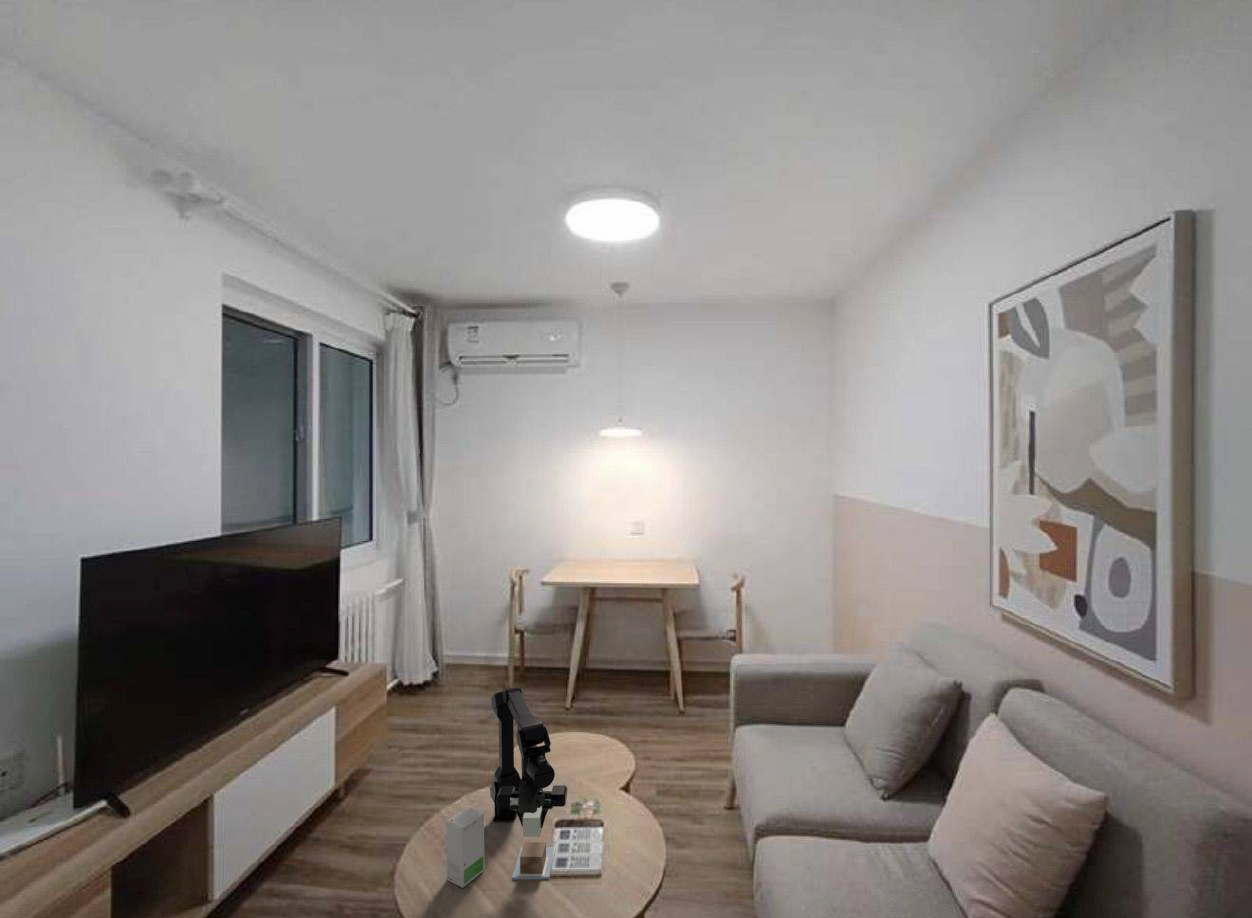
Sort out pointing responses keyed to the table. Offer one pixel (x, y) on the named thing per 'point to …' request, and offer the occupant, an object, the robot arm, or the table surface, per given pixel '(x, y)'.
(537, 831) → the sage block
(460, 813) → the skincare box
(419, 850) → the table surface
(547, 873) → the board
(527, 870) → the walnut block
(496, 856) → the table surface
